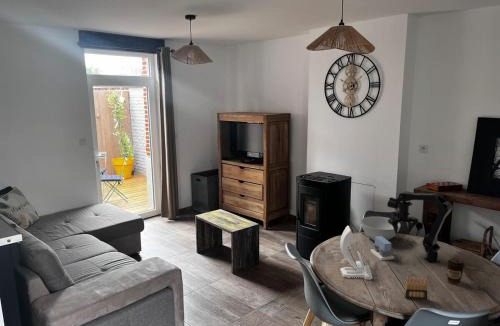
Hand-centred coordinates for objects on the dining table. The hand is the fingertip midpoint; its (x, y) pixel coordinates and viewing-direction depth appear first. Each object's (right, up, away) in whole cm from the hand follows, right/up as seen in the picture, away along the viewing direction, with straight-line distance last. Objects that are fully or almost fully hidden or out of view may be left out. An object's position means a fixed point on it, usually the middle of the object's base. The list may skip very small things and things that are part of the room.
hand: (402, 233), depth 240 cm
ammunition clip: (-15, -23, -53) cm, 60 cm away
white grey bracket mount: (-15, -13, -4) cm, 20 cm away
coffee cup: (+12, -20, -38) cm, 45 cm away
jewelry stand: (-39, -18, -22) cm, 48 cm away
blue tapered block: (-15, -8, -5) cm, 18 cm away
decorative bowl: (-7, -8, +22) cm, 25 cm away
